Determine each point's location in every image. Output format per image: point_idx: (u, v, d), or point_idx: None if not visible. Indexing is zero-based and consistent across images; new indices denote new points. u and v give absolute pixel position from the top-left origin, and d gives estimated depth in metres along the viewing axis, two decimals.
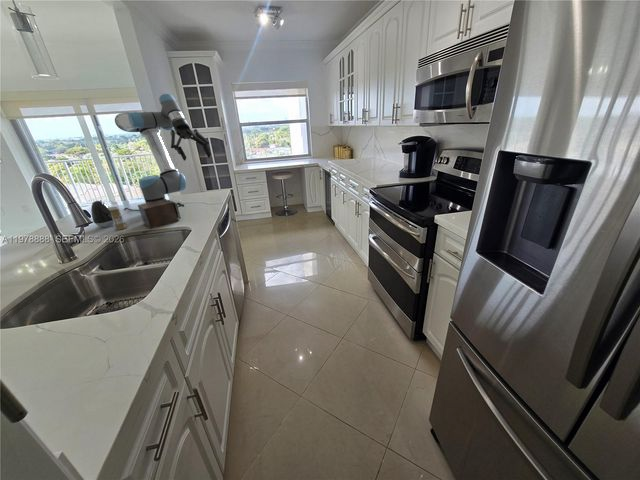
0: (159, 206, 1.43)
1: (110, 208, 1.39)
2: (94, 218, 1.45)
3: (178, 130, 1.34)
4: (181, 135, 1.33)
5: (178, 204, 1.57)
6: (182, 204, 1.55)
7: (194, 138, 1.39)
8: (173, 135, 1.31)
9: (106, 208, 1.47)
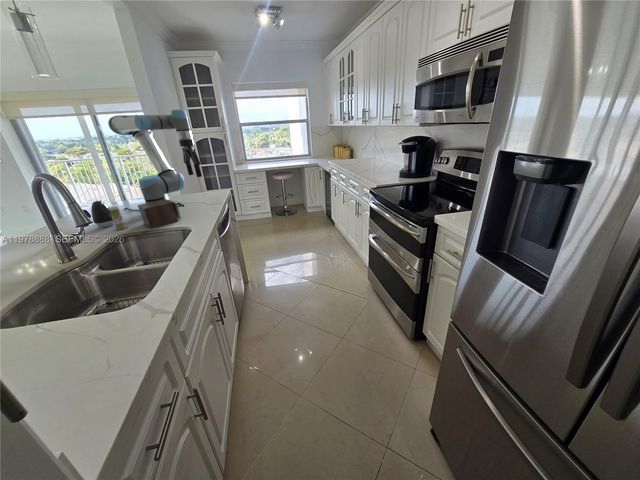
0: (159, 206, 1.43)
1: (110, 208, 1.39)
2: (94, 218, 1.45)
3: None
4: None
5: (178, 204, 1.57)
6: (182, 204, 1.55)
7: (188, 156, 1.56)
8: None
9: (106, 208, 1.47)
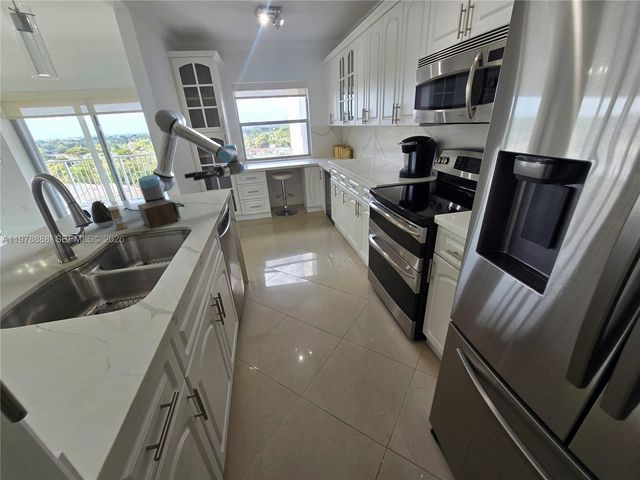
0: (159, 206, 1.43)
1: (110, 208, 1.39)
2: (94, 218, 1.45)
3: None
4: None
5: (178, 204, 1.57)
6: (182, 204, 1.55)
7: (204, 173, 1.66)
8: None
9: (106, 208, 1.47)
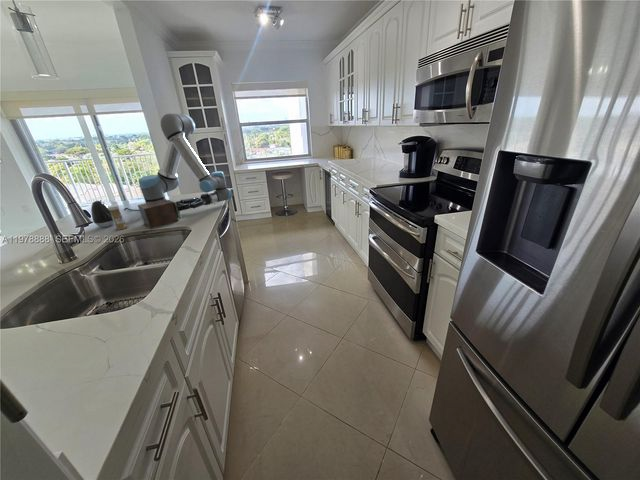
0: (159, 206, 1.43)
1: (110, 208, 1.39)
2: (94, 218, 1.45)
3: None
4: None
5: (178, 204, 1.57)
6: (182, 204, 1.55)
7: (191, 202, 1.64)
8: None
9: (106, 208, 1.47)
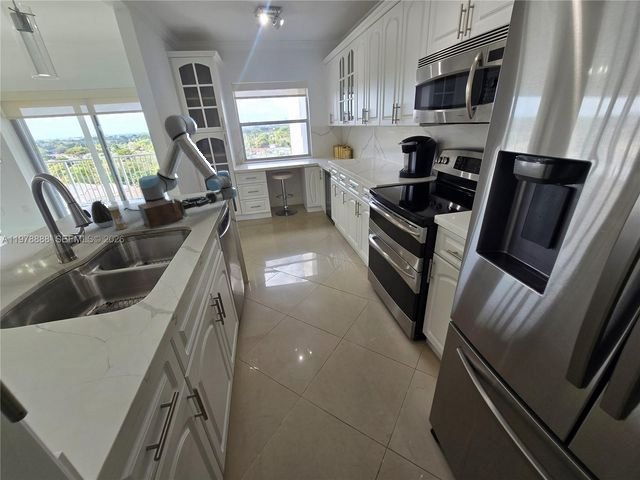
0: (159, 206, 1.43)
1: (110, 208, 1.39)
2: (94, 218, 1.45)
3: None
4: None
5: (184, 203, 1.60)
6: (188, 203, 1.57)
7: (196, 200, 1.67)
8: None
9: (106, 208, 1.47)
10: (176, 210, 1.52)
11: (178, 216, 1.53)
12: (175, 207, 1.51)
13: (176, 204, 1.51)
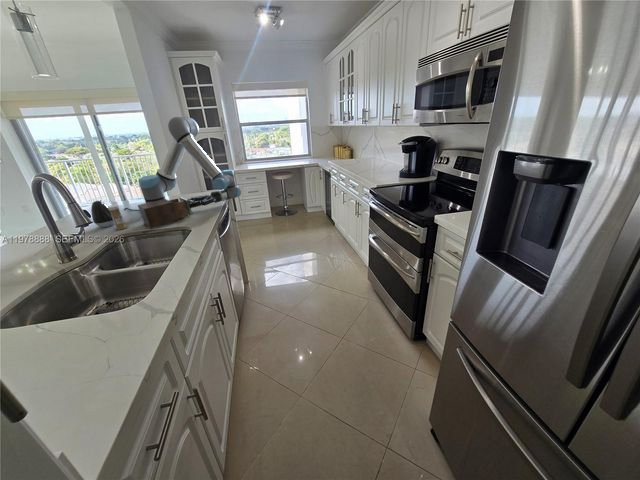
0: (159, 206, 1.43)
1: (110, 208, 1.39)
2: (94, 218, 1.45)
3: None
4: None
5: (189, 201, 1.62)
6: (193, 201, 1.59)
7: (202, 199, 1.69)
8: None
9: (106, 208, 1.47)
10: (182, 208, 1.54)
11: (184, 214, 1.55)
12: (181, 206, 1.53)
13: (182, 203, 1.53)
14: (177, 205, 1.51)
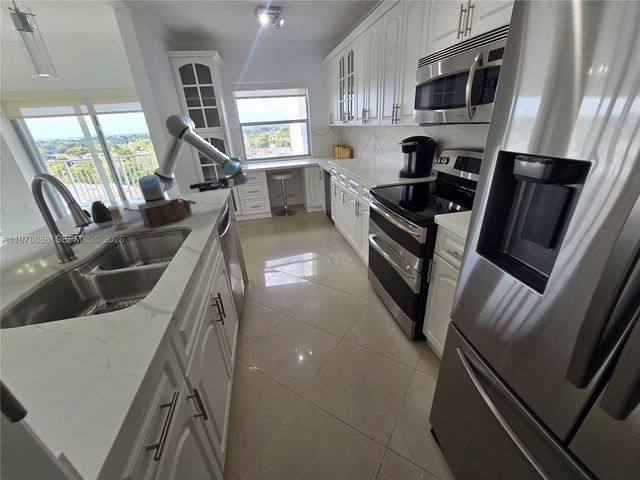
0: (159, 206, 1.43)
1: (110, 208, 1.39)
2: (94, 218, 1.45)
3: None
4: None
5: (189, 201, 1.62)
6: (193, 201, 1.59)
7: (209, 184, 1.70)
8: None
9: (106, 208, 1.47)
10: (182, 208, 1.54)
11: (184, 214, 1.55)
12: (181, 206, 1.53)
13: (182, 203, 1.53)
14: (177, 205, 1.51)
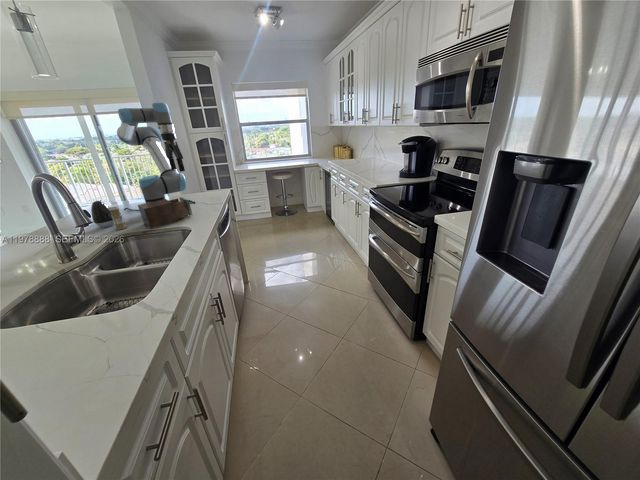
0: (159, 206, 1.43)
1: (110, 208, 1.39)
2: (94, 218, 1.45)
3: (166, 142, 1.52)
4: (167, 148, 1.53)
5: (189, 201, 1.62)
6: (193, 201, 1.59)
7: None
8: (165, 147, 1.55)
9: (106, 208, 1.47)
10: (182, 208, 1.54)
11: (184, 214, 1.55)
12: (181, 206, 1.53)
13: (182, 203, 1.53)
14: (177, 205, 1.51)
